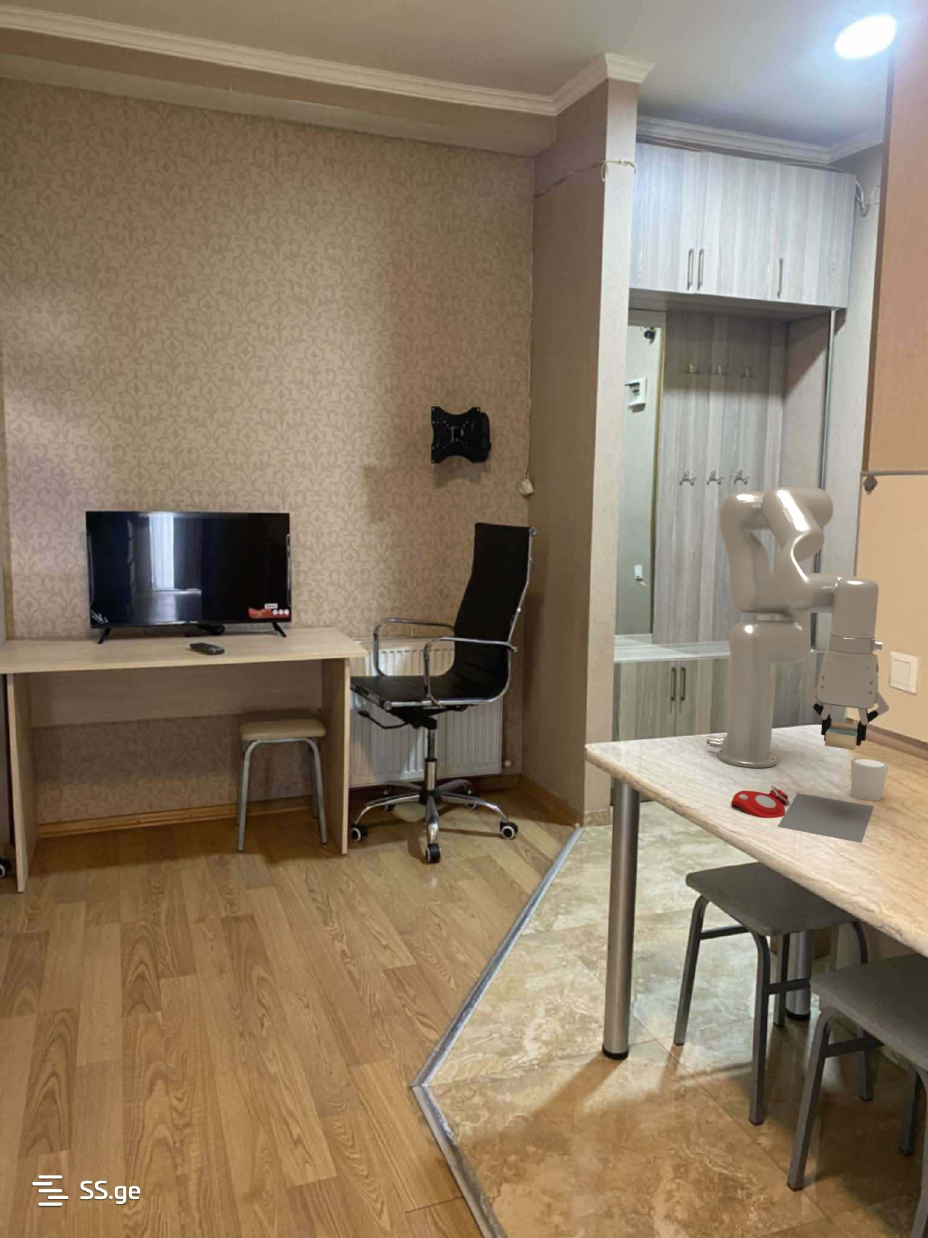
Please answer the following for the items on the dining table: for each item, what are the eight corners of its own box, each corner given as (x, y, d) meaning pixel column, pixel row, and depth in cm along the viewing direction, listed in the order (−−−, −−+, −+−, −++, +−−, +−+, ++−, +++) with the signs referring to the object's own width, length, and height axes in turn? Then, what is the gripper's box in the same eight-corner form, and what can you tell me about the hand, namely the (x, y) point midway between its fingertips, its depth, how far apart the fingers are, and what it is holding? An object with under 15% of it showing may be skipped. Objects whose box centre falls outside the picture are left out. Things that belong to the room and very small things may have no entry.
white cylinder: (881, 804, 187) (885, 769, 186) (844, 797, 191) (848, 763, 190) (887, 795, 193) (890, 761, 192) (851, 788, 197) (854, 755, 196)
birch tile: (832, 734, 184) (833, 720, 184) (859, 738, 182) (861, 724, 181) (824, 745, 175) (826, 731, 175) (854, 750, 173) (855, 735, 172)
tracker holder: (786, 820, 174) (732, 799, 177) (778, 839, 175) (725, 818, 179) (794, 788, 184) (743, 768, 187) (787, 806, 186) (737, 787, 189)
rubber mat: (777, 829, 171) (777, 826, 171) (797, 796, 190) (797, 793, 190) (861, 845, 165) (861, 842, 165) (873, 809, 184) (873, 806, 184)
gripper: (903, 647, 175) (893, 744, 178) (806, 638, 183) (798, 731, 186) (900, 653, 169) (890, 753, 171) (799, 643, 177) (791, 739, 179)
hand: (842, 740), depth 178 cm, fingers closed on birch tile, 4 cm apart
